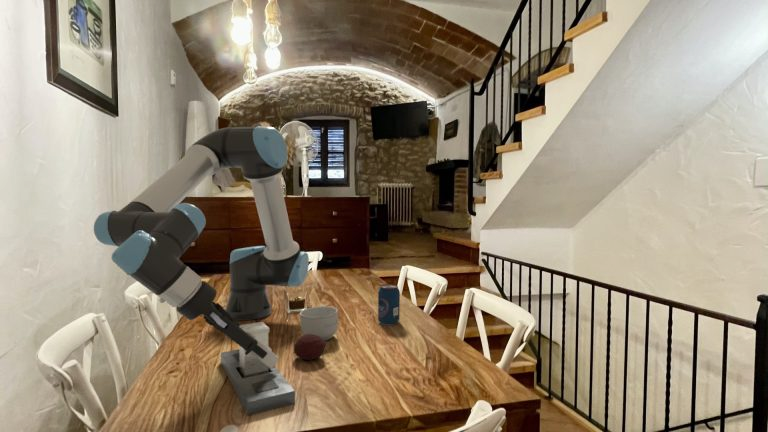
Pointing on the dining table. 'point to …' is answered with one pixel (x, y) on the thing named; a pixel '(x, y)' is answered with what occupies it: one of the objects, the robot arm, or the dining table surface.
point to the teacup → (319, 321)
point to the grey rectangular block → (250, 362)
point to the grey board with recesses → (257, 386)
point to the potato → (309, 346)
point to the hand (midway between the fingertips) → (270, 358)
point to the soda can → (388, 304)
